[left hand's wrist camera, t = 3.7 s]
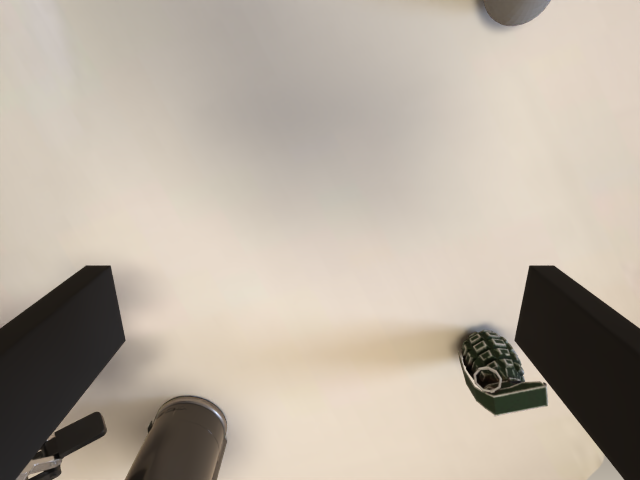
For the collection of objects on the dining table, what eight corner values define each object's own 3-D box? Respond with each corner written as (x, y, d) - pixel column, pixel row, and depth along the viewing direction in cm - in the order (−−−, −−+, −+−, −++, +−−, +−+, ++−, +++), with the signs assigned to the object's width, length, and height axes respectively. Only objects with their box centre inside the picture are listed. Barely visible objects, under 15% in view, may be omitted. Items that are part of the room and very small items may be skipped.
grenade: (502, 317, 47) (546, 372, 38) (506, 356, 49) (550, 417, 40) (447, 329, 48) (478, 386, 39) (453, 367, 50) (484, 430, 41)
